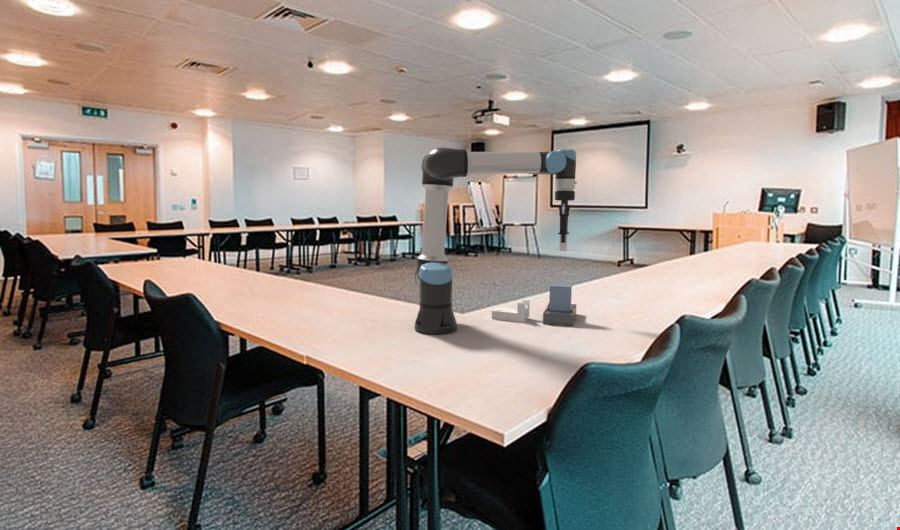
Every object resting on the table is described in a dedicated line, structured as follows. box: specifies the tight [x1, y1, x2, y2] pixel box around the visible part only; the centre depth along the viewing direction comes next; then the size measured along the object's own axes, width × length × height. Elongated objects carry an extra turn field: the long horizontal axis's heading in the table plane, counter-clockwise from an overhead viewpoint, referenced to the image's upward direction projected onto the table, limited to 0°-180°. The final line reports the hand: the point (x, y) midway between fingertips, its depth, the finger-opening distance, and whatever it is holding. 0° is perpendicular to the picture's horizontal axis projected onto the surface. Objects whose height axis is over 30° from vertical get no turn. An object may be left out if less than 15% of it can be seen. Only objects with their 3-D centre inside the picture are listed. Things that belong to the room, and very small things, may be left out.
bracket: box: [491, 299, 530, 323], centre depth 210 cm, size 13×7×8 cm, turn 65°
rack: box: [542, 303, 577, 327], centre depth 210 cm, size 11×21×4 cm, turn 164°
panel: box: [548, 283, 573, 312], centre depth 207 cm, size 8×4×13 cm, turn 74°
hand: (563, 250), depth 210 cm, fingers closed
